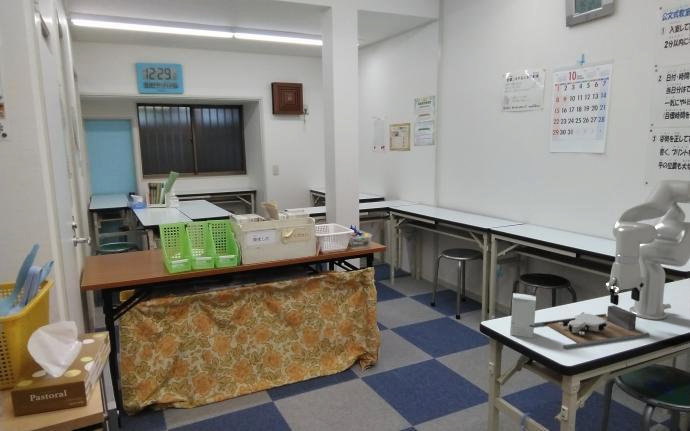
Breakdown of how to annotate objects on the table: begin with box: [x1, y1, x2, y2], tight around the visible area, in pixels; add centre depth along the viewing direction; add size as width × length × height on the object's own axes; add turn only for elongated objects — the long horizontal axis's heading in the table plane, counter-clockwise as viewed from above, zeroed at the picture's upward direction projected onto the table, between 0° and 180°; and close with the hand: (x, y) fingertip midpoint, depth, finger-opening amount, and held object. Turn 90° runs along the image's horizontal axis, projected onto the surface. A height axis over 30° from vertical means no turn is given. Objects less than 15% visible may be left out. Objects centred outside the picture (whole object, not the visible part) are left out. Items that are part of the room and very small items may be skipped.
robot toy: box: [558, 311, 612, 335], centre depth 166 cm, size 12×4×15 cm
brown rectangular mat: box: [545, 305, 644, 343], centre depth 167 cm, size 28×18×6 cm, turn 104°
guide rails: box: [534, 313, 650, 350], centre depth 167 cm, size 36×20×1 cm, turn 104°
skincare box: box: [509, 292, 537, 339], centre depth 165 cm, size 8×6×15 cm
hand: (624, 301), depth 170 cm, fingers open, 9 cm apart
